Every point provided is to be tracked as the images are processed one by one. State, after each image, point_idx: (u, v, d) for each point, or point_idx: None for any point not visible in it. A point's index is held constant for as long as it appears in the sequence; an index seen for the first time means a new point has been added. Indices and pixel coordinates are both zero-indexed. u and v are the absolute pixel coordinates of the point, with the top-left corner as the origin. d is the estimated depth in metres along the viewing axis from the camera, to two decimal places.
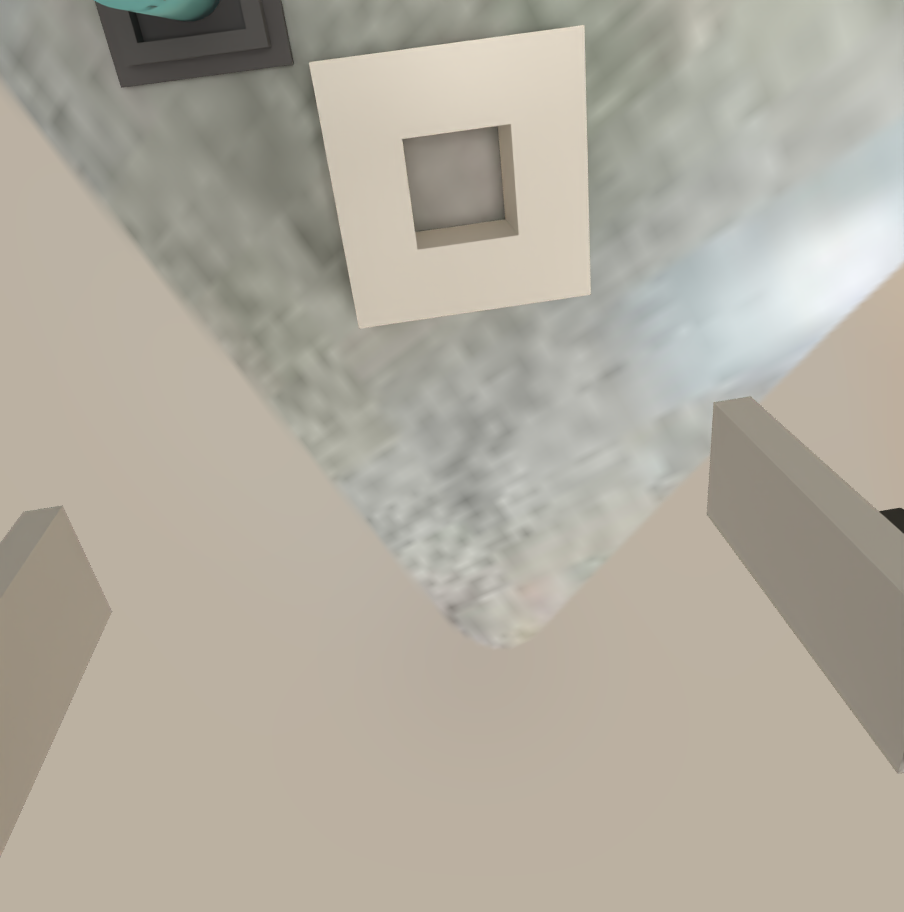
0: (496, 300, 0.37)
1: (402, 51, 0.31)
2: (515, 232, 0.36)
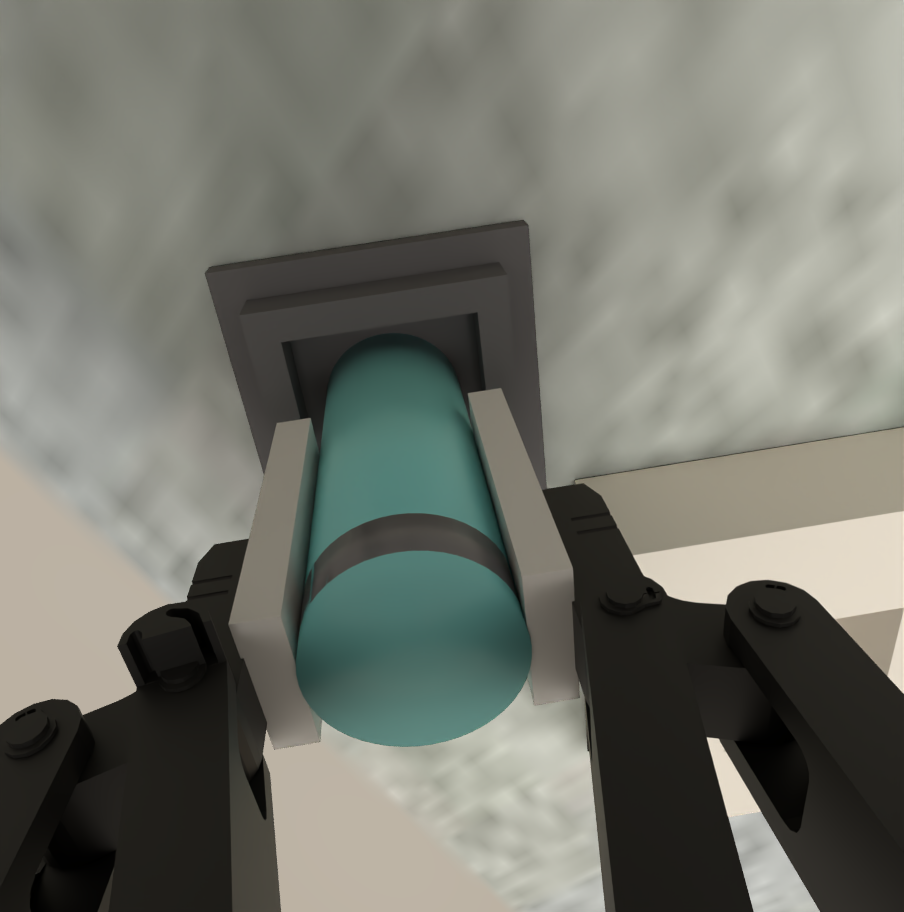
0: None
1: (763, 535, 0.19)
2: None
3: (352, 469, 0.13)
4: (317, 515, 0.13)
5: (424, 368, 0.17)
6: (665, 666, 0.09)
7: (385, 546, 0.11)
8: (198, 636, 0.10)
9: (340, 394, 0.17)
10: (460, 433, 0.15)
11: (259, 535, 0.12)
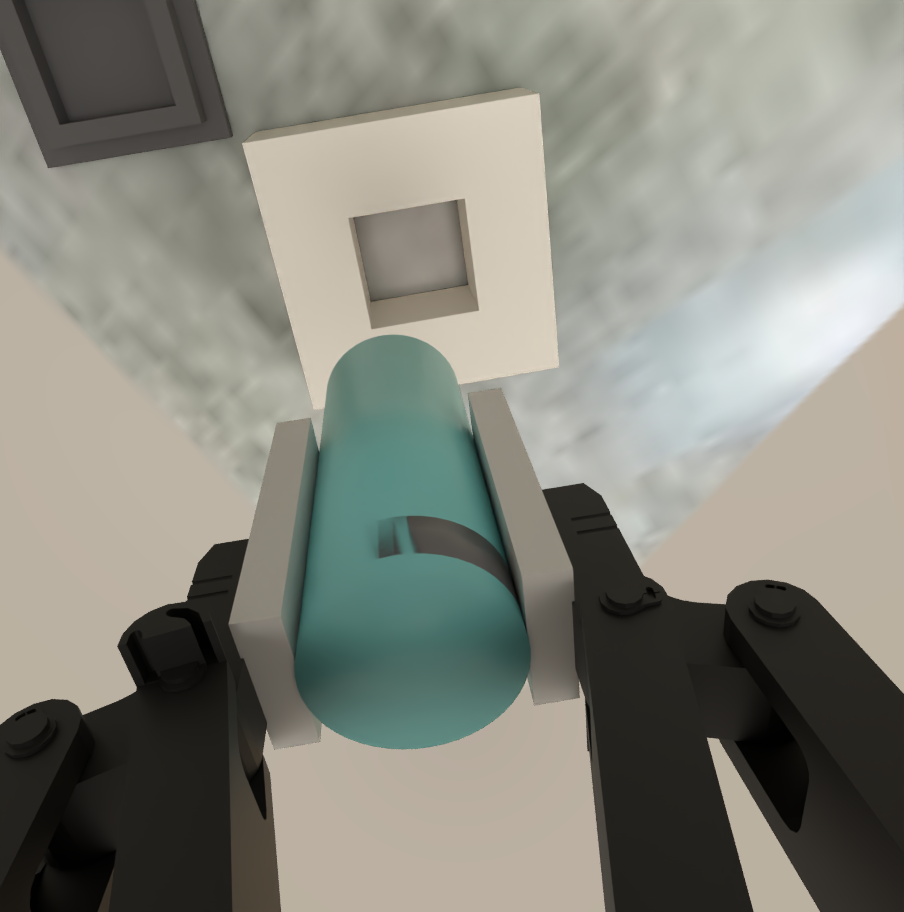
0: (458, 376, 0.35)
1: (343, 128, 0.29)
2: (476, 306, 0.34)
3: (351, 471, 0.13)
4: (316, 517, 0.13)
5: (424, 370, 0.17)
6: (665, 666, 0.09)
7: (384, 549, 0.11)
8: (198, 636, 0.10)
9: (339, 396, 0.17)
10: (459, 435, 0.15)
11: (259, 535, 0.12)
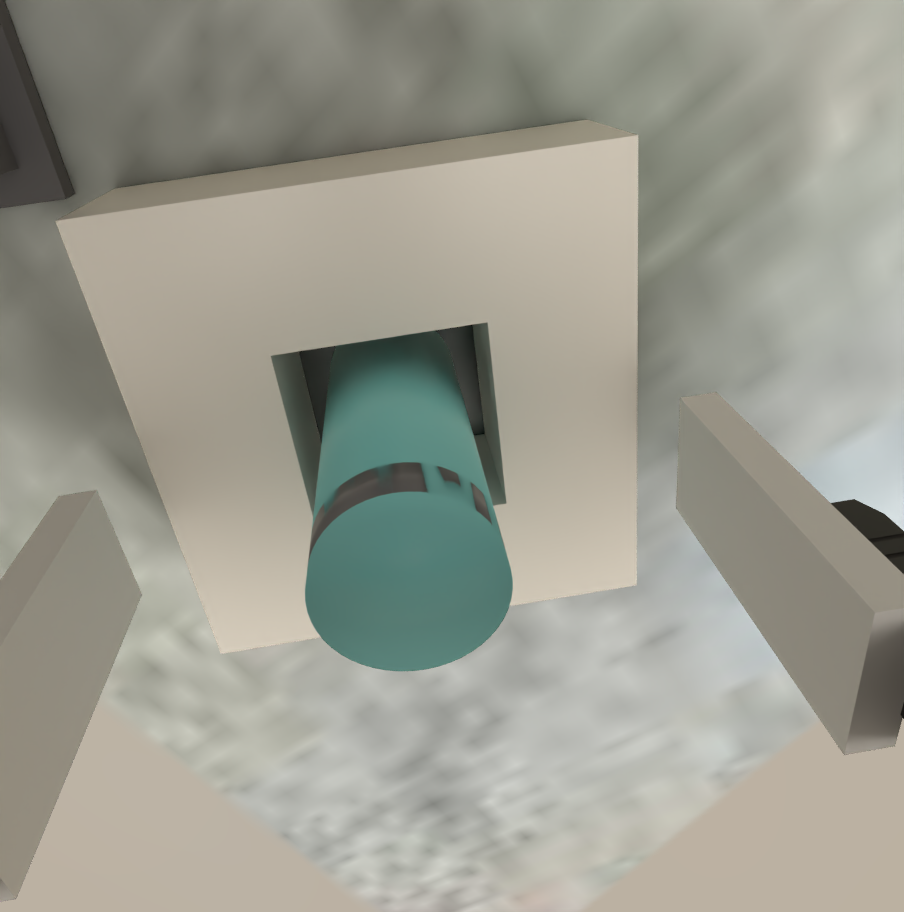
0: None
1: (255, 195, 0.15)
2: (500, 490, 0.20)
3: (354, 428, 0.15)
4: (322, 470, 0.15)
5: (420, 344, 0.19)
6: None
7: (384, 489, 0.12)
8: None
9: (342, 368, 0.18)
10: (452, 400, 0.17)
11: None
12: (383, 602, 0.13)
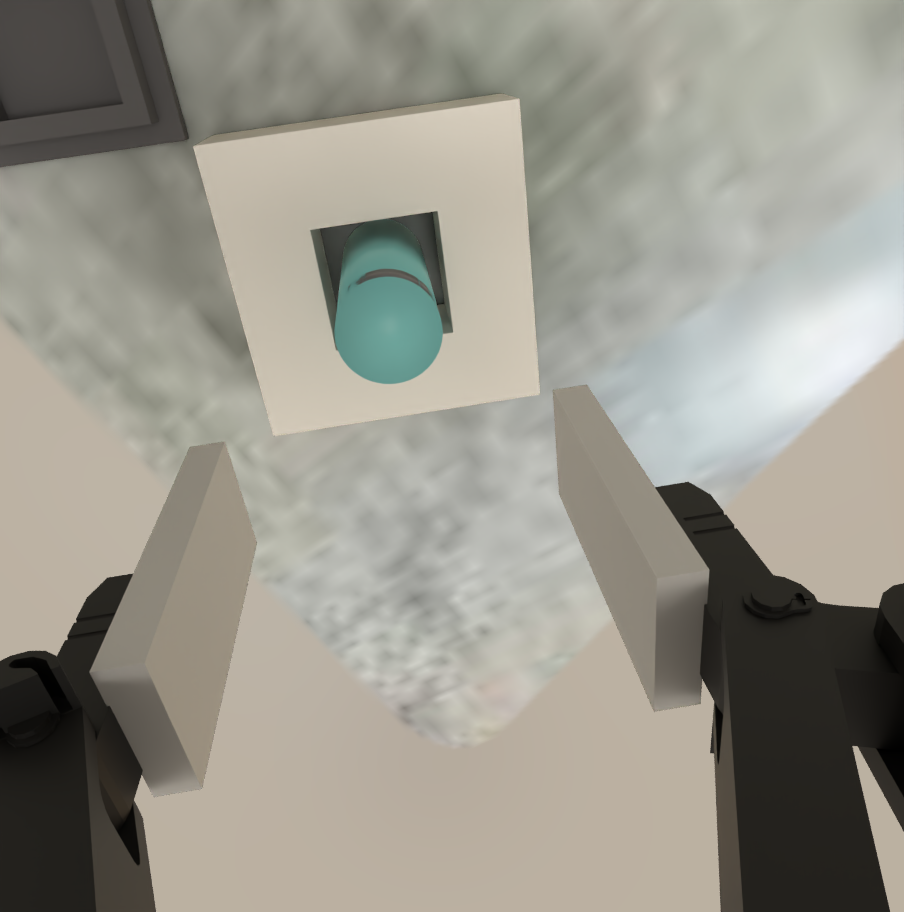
0: (431, 402, 0.32)
1: (304, 132, 0.26)
2: (450, 327, 0.31)
3: (359, 262, 0.26)
4: (341, 285, 0.26)
5: (399, 232, 0.30)
6: (812, 676, 0.09)
7: (375, 276, 0.24)
8: (48, 685, 0.10)
9: (351, 245, 0.30)
10: (416, 256, 0.28)
11: (144, 571, 0.12)
12: (375, 338, 0.24)
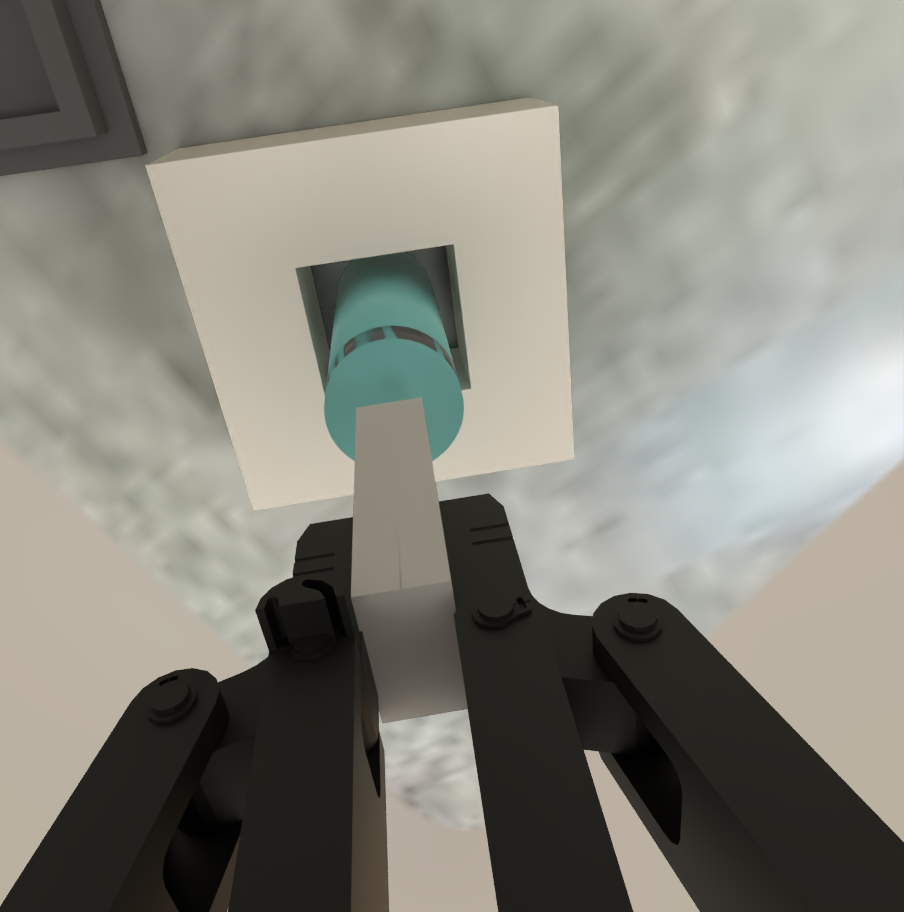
0: (443, 470, 0.27)
1: (286, 147, 0.21)
2: (467, 381, 0.26)
3: (356, 312, 0.21)
4: (334, 341, 0.21)
5: (405, 267, 0.25)
6: (538, 675, 0.09)
7: (376, 337, 0.18)
8: (329, 609, 0.10)
9: (347, 283, 0.24)
10: (427, 301, 0.23)
11: (363, 513, 0.12)
12: None
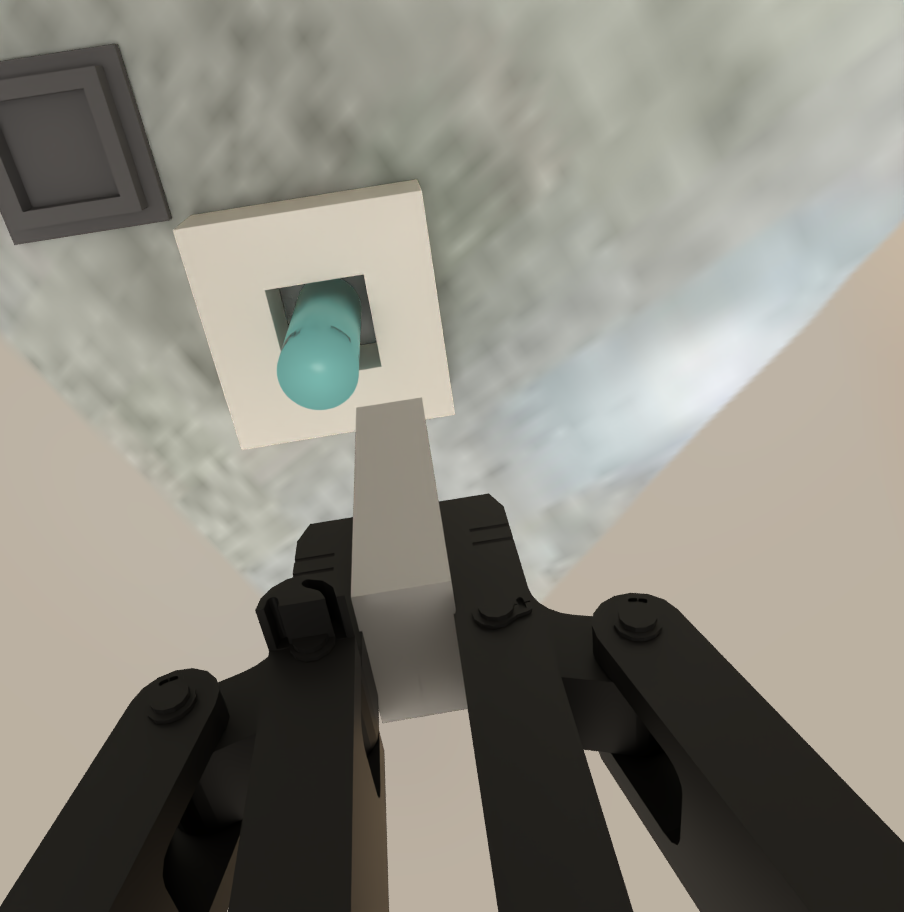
0: None
1: (257, 218, 0.35)
2: (380, 362, 0.39)
3: (299, 317, 0.35)
4: (286, 334, 0.34)
5: (338, 288, 0.39)
6: (538, 675, 0.09)
7: (306, 330, 0.32)
8: (329, 609, 0.10)
9: (299, 299, 0.38)
10: (347, 310, 0.36)
11: (363, 513, 0.12)
12: (307, 376, 0.32)
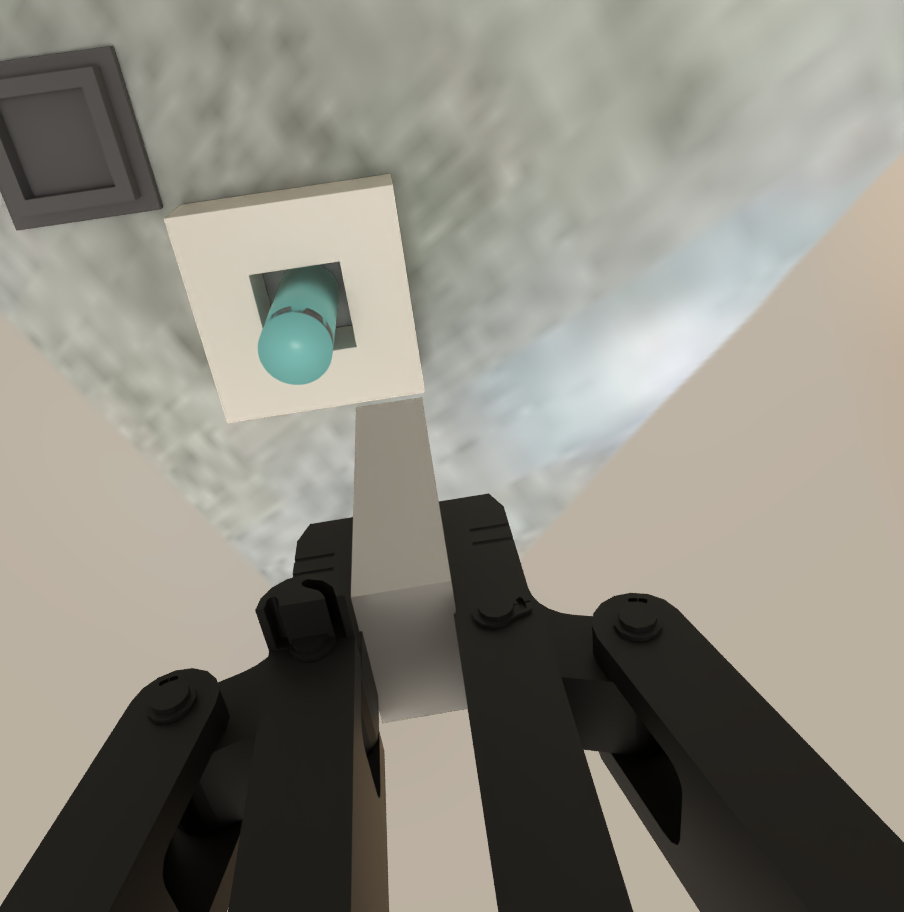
0: (343, 398, 0.44)
1: (241, 208, 0.38)
2: (356, 343, 0.43)
3: (280, 300, 0.38)
4: None
5: (316, 274, 0.42)
6: (538, 675, 0.09)
7: (285, 312, 0.35)
8: (329, 609, 0.10)
9: (281, 284, 0.41)
10: (324, 294, 0.40)
11: (362, 513, 0.12)
12: (285, 353, 0.36)
